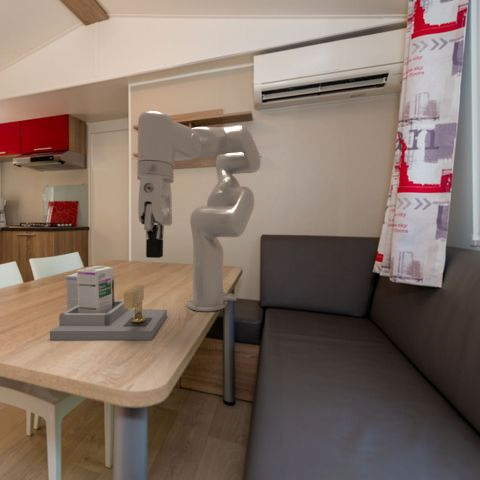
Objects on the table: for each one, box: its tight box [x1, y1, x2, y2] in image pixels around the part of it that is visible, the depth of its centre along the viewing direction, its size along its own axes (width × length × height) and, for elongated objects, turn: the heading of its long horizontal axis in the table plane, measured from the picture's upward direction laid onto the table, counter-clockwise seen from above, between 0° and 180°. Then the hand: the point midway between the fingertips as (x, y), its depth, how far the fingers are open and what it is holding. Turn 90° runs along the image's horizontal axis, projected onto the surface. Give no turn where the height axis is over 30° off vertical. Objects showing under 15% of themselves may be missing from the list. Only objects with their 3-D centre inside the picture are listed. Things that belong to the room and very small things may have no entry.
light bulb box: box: [65, 272, 78, 311], centre depth 74 cm, size 11×7×11 cm, turn 4°
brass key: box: [123, 284, 146, 323], centre depth 56 cm, size 3×8×8 cm, turn 3°
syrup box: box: [76, 265, 115, 313], centre depth 61 cm, size 6×6×14 cm
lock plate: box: [49, 299, 168, 341], centre depth 60 cm, size 22×14×4 cm, turn 93°
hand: (154, 257), depth 54 cm, fingers closed
